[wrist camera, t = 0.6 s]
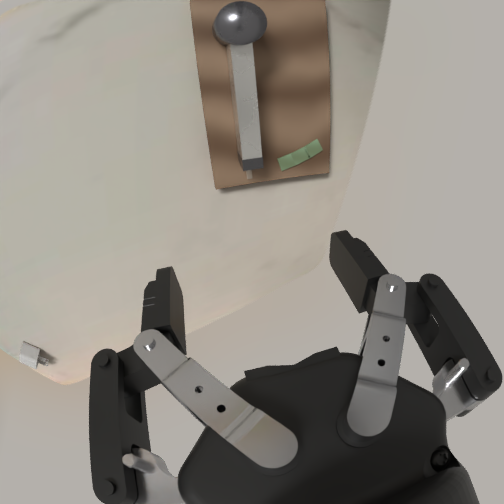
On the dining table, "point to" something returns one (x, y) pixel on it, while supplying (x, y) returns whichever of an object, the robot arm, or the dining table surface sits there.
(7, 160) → the dining table surface
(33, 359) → the usb wall charger
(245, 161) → the lever
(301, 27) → the plate
